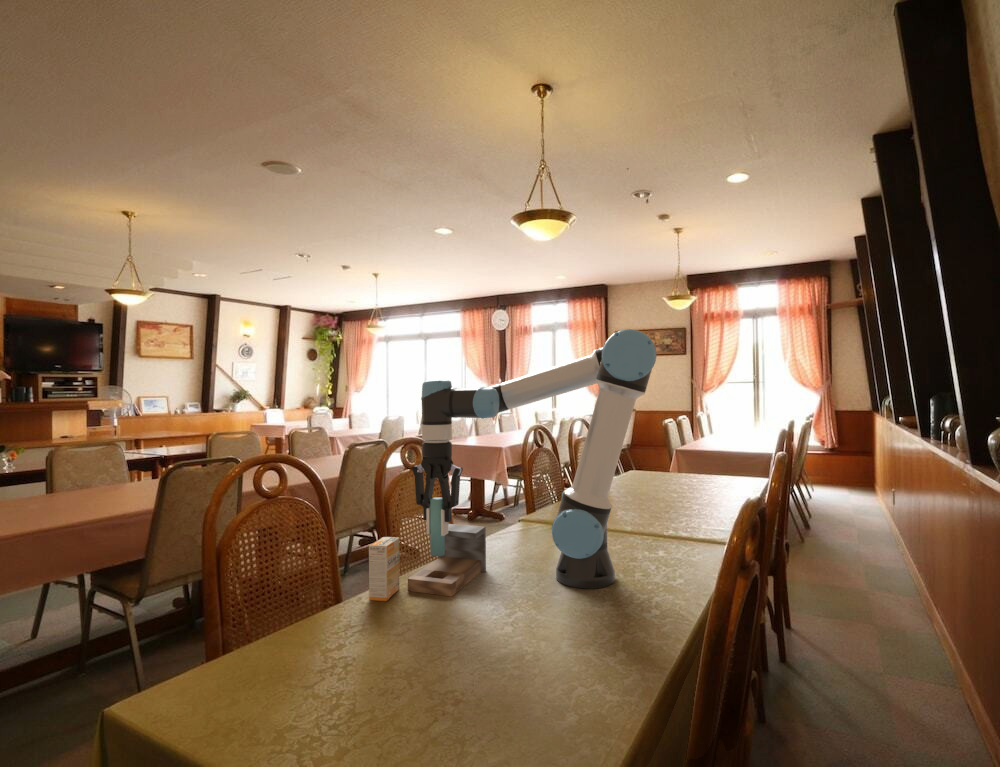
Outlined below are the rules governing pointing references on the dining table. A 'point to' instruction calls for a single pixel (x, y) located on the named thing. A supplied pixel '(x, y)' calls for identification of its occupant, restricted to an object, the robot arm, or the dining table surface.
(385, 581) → the supplement box
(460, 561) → the socket station
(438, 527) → the peg
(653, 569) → the dining table surface
